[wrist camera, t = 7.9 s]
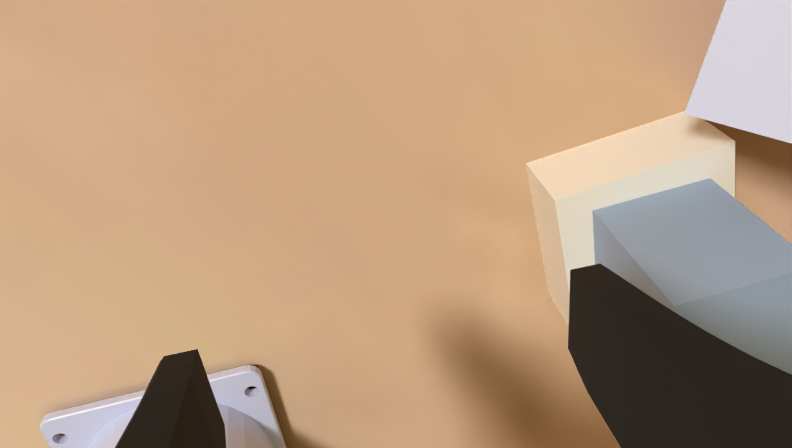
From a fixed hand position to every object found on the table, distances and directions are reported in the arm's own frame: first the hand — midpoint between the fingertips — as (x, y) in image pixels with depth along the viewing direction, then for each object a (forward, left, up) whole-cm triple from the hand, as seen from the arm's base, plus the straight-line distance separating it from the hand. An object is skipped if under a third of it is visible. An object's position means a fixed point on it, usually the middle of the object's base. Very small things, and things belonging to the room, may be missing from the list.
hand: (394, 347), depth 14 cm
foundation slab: (-5, -10, -11) cm, 15 cm away
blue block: (-5, -10, -8) cm, 13 cm away
